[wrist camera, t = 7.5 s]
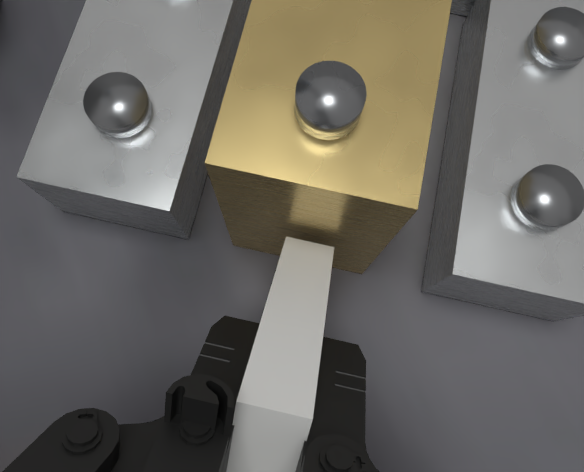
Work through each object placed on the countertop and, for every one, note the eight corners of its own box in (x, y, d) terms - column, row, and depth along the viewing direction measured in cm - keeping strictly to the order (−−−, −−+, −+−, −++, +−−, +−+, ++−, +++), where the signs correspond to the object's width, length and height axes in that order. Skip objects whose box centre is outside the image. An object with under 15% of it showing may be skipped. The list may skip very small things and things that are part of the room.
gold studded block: (300, -9, 22) (314, -240, 14) (410, 14, 22) (491, -206, 14) (233, 246, 19) (199, 148, 11) (361, 274, 19) (427, 197, 11)
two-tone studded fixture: (165, -74, 23) (135, -193, 18) (579, 10, 22) (662, -89, 18) (62, 211, 19) (-10, 157, 15) (553, 321, 19) (648, 303, 14)
